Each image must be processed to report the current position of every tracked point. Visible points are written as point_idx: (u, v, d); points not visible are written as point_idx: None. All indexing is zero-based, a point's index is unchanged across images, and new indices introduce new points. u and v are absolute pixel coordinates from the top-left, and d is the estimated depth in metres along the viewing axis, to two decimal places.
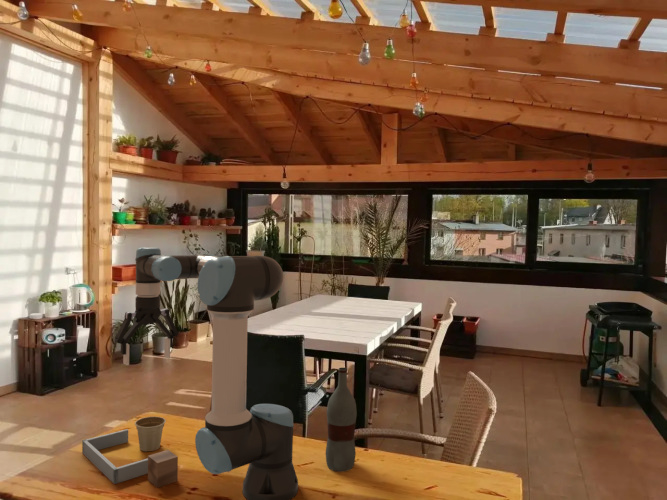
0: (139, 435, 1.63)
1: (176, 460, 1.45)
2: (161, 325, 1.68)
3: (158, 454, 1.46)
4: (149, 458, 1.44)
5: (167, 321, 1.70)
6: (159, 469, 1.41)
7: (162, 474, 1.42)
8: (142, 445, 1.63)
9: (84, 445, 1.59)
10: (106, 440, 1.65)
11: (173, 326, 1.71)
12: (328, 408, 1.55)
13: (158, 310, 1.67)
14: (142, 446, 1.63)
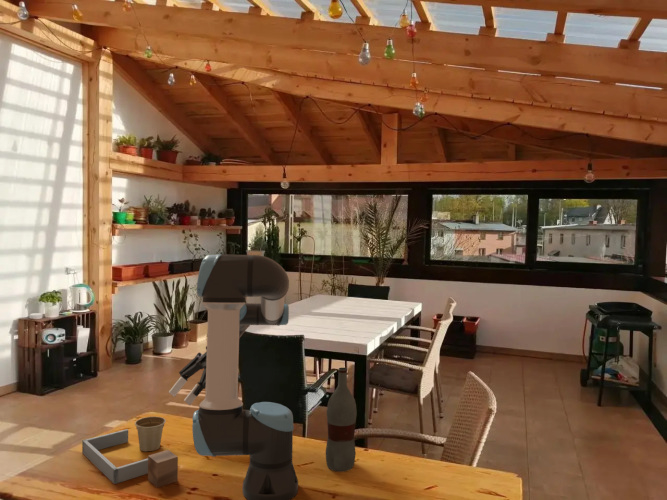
0: (139, 435, 1.63)
1: (176, 460, 1.45)
2: (204, 369, 1.74)
3: (158, 454, 1.46)
4: (149, 458, 1.44)
5: None
6: (159, 469, 1.41)
7: (162, 474, 1.42)
8: (142, 445, 1.63)
9: (84, 445, 1.59)
10: (106, 440, 1.65)
11: None
12: (328, 408, 1.55)
13: None
14: (142, 446, 1.63)
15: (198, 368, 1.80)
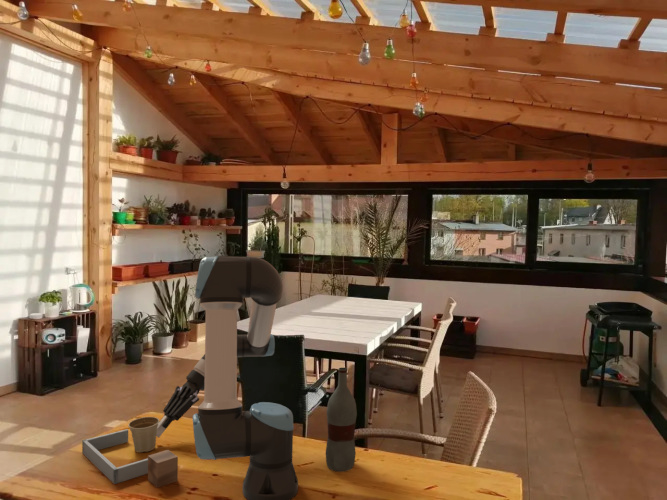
0: (133, 436, 1.62)
1: (176, 460, 1.45)
2: (179, 401, 1.72)
3: (158, 454, 1.46)
4: (149, 458, 1.44)
5: None
6: (159, 469, 1.41)
7: (162, 474, 1.42)
8: (137, 446, 1.62)
9: (84, 445, 1.59)
10: (106, 440, 1.65)
11: (179, 408, 1.69)
12: (328, 408, 1.55)
13: (194, 388, 1.73)
14: (137, 448, 1.62)
15: None
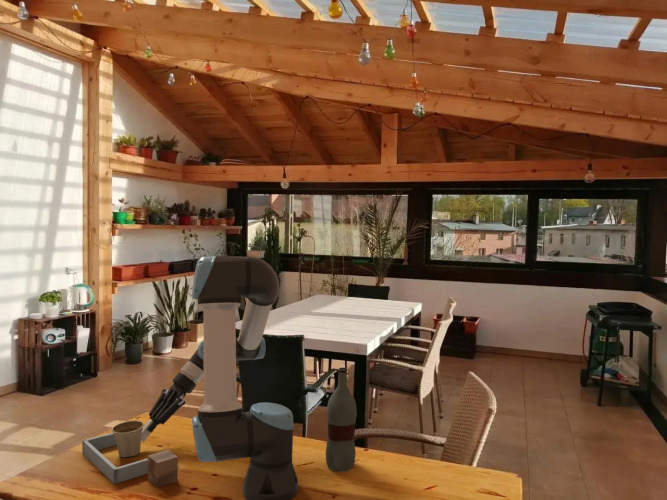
0: (117, 441, 1.58)
1: (176, 460, 1.45)
2: (165, 404, 1.68)
3: (158, 454, 1.46)
4: (149, 458, 1.44)
5: None
6: (159, 469, 1.41)
7: (162, 474, 1.42)
8: (121, 451, 1.58)
9: (84, 445, 1.59)
10: (106, 440, 1.65)
11: (165, 412, 1.65)
12: (328, 408, 1.55)
13: (181, 391, 1.69)
14: (121, 453, 1.58)
15: None
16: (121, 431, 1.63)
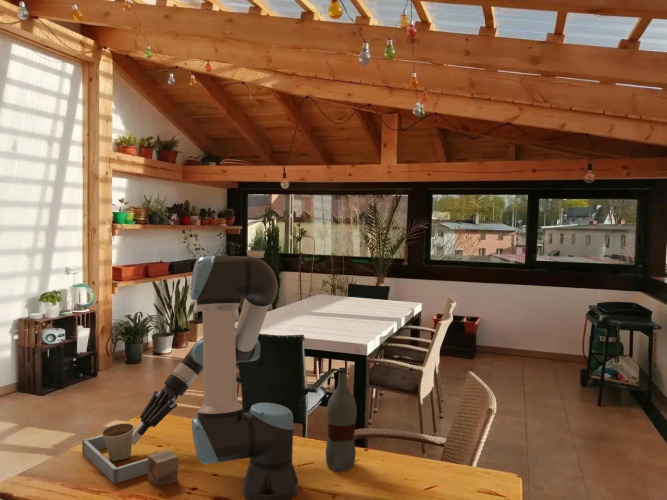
0: (107, 445, 1.55)
1: (176, 460, 1.45)
2: (157, 406, 1.66)
3: (158, 454, 1.46)
4: (149, 458, 1.44)
5: None
6: (159, 469, 1.41)
7: (162, 474, 1.42)
8: (111, 455, 1.55)
9: (84, 445, 1.59)
10: None
11: (156, 414, 1.63)
12: (328, 408, 1.55)
13: (173, 393, 1.67)
14: (112, 456, 1.56)
15: None
16: (111, 434, 1.60)
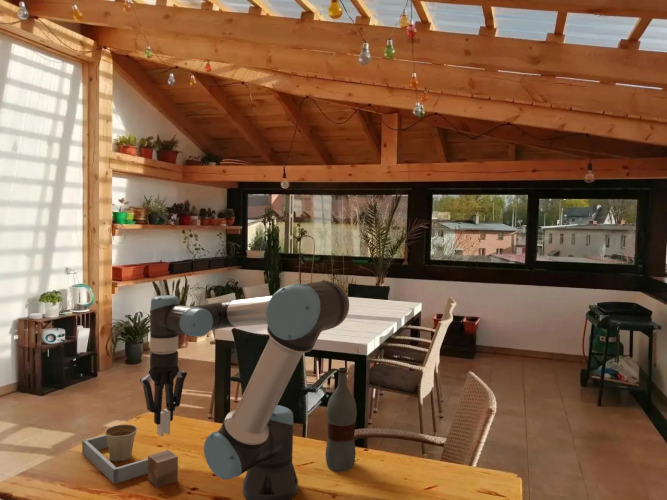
0: (109, 444, 1.56)
1: (176, 460, 1.45)
2: (170, 389, 1.44)
3: (158, 454, 1.46)
4: (149, 458, 1.44)
5: (177, 385, 1.47)
6: (159, 469, 1.41)
7: (162, 474, 1.42)
8: (112, 455, 1.55)
9: (84, 445, 1.59)
10: (106, 440, 1.65)
11: (179, 394, 1.47)
12: (328, 408, 1.55)
13: (177, 367, 1.46)
14: (113, 456, 1.56)
15: None
16: (114, 434, 1.60)
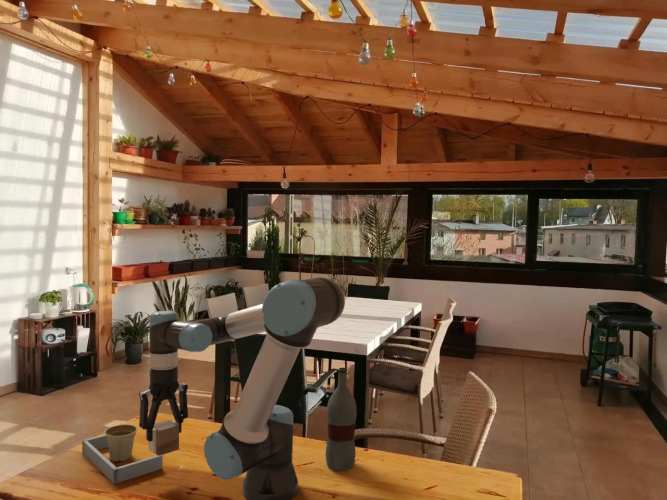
0: (109, 444, 1.56)
1: (177, 428, 1.44)
2: (174, 403, 1.45)
3: (159, 423, 1.46)
4: None
5: (181, 399, 1.48)
6: (161, 437, 1.41)
7: (163, 442, 1.41)
8: (112, 455, 1.55)
9: (84, 445, 1.59)
10: (106, 440, 1.65)
11: (185, 406, 1.48)
12: (328, 408, 1.55)
13: (177, 382, 1.46)
14: (113, 456, 1.56)
15: None
16: (114, 434, 1.60)
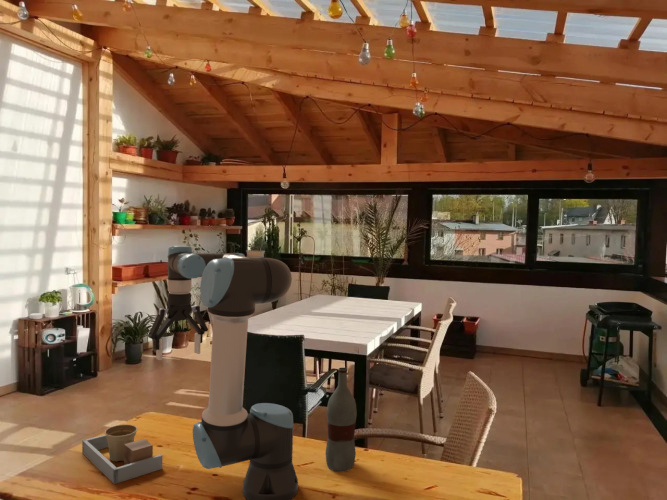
0: (109, 444, 1.56)
1: (151, 448, 1.52)
2: (192, 321, 1.72)
3: (134, 442, 1.53)
4: (125, 446, 1.51)
5: (197, 317, 1.74)
6: (135, 457, 1.48)
7: None
8: (112, 455, 1.55)
9: (84, 445, 1.59)
10: (106, 440, 1.65)
11: (203, 322, 1.75)
12: (328, 408, 1.55)
13: (189, 306, 1.71)
14: (113, 456, 1.56)
15: None
16: (114, 434, 1.60)
